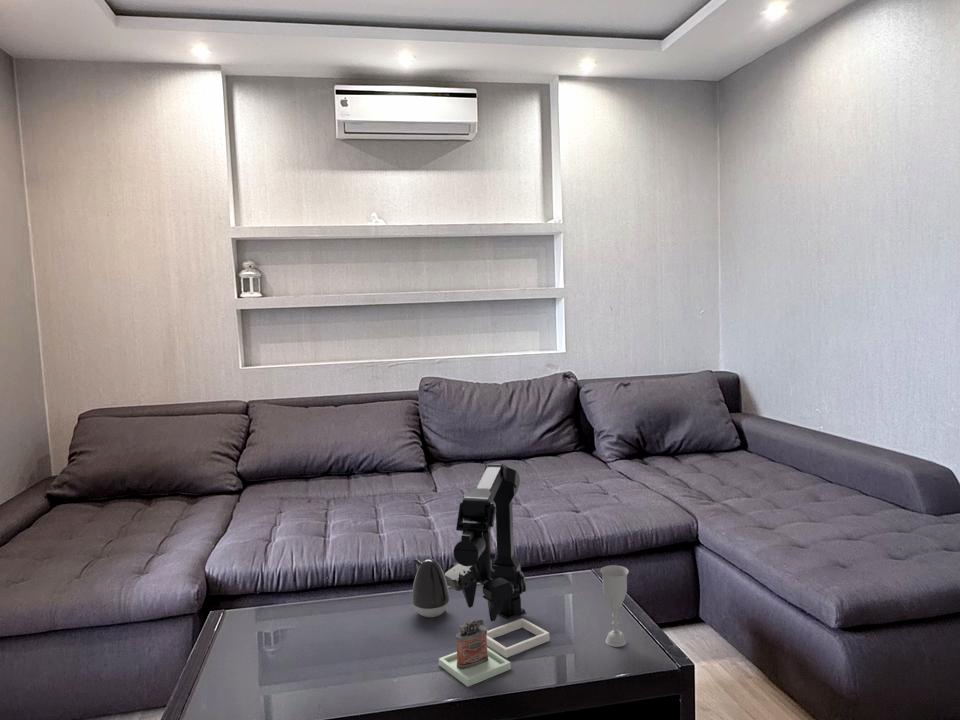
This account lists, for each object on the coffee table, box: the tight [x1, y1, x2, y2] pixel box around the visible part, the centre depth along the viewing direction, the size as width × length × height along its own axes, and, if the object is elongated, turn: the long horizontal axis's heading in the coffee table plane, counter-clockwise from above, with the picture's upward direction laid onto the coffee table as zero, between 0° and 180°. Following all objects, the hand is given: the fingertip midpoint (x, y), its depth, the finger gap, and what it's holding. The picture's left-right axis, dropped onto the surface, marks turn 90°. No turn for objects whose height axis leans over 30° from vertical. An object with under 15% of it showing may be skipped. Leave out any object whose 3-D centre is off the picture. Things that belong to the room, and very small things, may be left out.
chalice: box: [600, 564, 629, 648], centre depth 173 cm, size 7×7×18 cm
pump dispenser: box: [411, 558, 450, 618], centre depth 193 cm, size 10×10×15 cm
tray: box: [438, 646, 512, 687], centre depth 164 cm, size 12×12×2 cm
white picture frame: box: [487, 617, 550, 659], centre depth 176 cm, size 11×14×2 cm
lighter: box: [455, 618, 488, 669], centre depth 164 cm, size 8×3×10 cm, turn 121°
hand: (481, 613), depth 166 cm, fingers open, 9 cm apart
